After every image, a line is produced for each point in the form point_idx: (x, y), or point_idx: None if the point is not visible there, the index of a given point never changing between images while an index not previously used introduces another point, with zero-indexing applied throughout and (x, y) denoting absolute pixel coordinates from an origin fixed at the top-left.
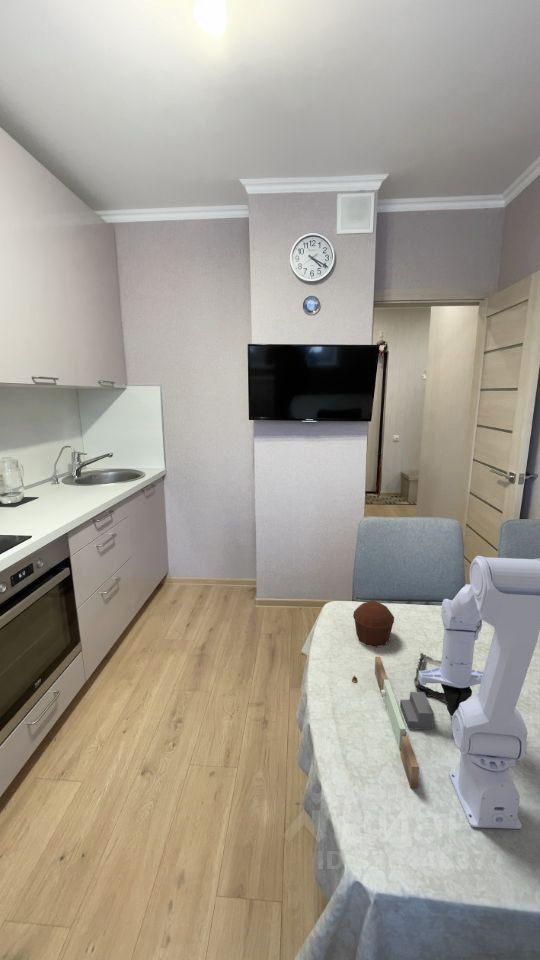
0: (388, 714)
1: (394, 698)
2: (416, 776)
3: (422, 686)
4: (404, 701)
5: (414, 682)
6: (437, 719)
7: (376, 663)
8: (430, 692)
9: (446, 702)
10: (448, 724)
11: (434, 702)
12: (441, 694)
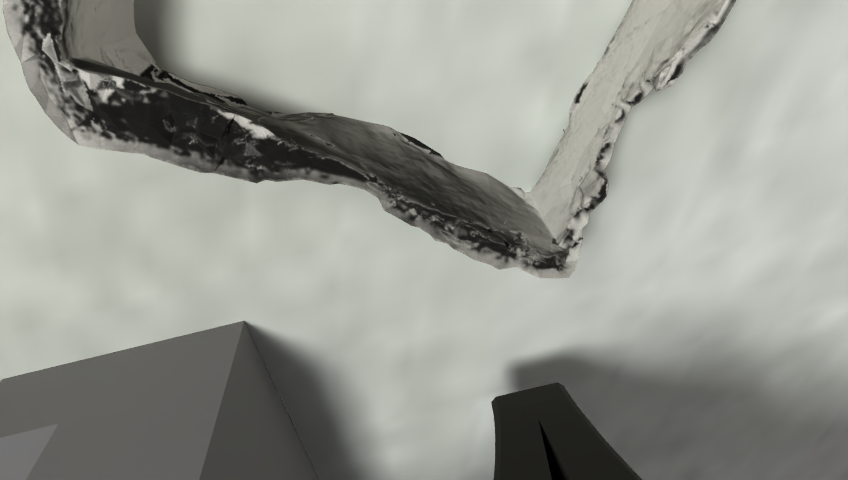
0: None
1: None
2: None
3: (189, 126)
4: (5, 458)
5: (37, 68)
6: (383, 421)
7: None
8: (324, 126)
9: (495, 449)
10: (473, 442)
11: (372, 221)
12: (467, 210)
